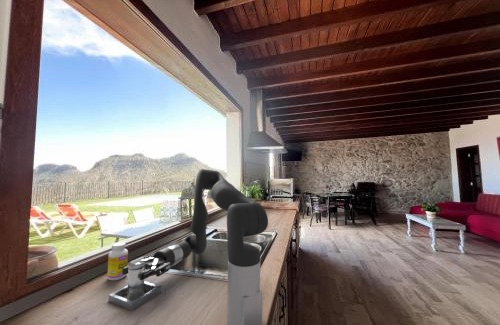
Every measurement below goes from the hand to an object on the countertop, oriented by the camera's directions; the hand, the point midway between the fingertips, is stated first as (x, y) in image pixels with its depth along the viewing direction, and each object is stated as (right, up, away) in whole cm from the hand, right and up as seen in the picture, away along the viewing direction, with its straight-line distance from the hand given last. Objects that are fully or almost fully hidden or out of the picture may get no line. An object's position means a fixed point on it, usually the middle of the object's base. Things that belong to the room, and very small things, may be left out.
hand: (131, 274), depth 70 cm
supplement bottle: (-14, -9, +14) cm, 22 cm away
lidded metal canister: (+1, -8, +1) cm, 8 cm away
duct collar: (+1, -8, +1) cm, 8 cm away
